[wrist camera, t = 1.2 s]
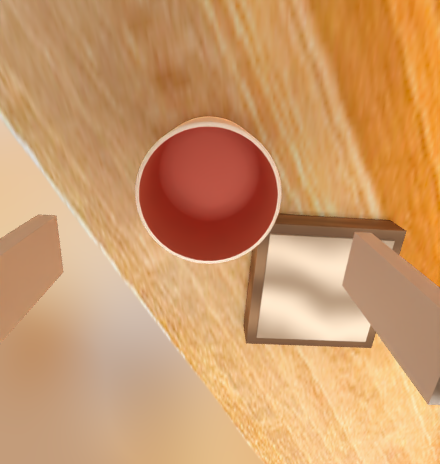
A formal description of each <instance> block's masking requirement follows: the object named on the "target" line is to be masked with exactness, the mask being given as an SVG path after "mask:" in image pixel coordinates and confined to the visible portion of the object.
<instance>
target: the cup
mask: <svg viewBox="0 0 440 464" xmlns="http://www.w3.org/2000/svg"><path fill="white" fill-rule="evenodd" d="M281 196H282V189H281V181H280V176H279V173H278V169H277V167H276V165H275V162H274V160H273V159H272V157H271V155H270V154H269V152H268V151H267V150H266V148H265V147H264V146H263V145H262V144H261V143H260V142H259V141H258V140H257V139H256V138H255V137H253V136H252V135H251V134H250V133H248V132H247V131H246V130H245V129H243V128H242V127H241V126H239V125H238V124H236V123H234V122H232V121H230V120H227V119H224V118H220V117H213V116H205V117H198V118H194V119H191V120H188V121H186V122H184V123H182V124H180V125H179V126H177V127H176V128H174V129H173V130H171V131H170V132H168V133H167V134H166V135H164V136H163V137H161V138H160V139H159V140H158V141H157V142H156V143H155V144H154V145H153V146H152V147H151V148H150V150H149V151H148V152H147V154H146V156H145V157H144V159H143V161H142V163H141V165H140V168H139V171H138V174H137V178H136V185H135V199H136V206H137V210H138V213H139V216H140V219H141V221H142V223H143V225H144V227H145V229H146V230H147V232H148V233H149V234H150V236H151V237H152V238H153V239H154V240H155V241H156V242H157V243H158V244H159V245H160V246H161V247H162V248H164V249H165V250H166V251H168V252H170V253H171V254H173V255H175V256H177V257H179V258H182V259H184V260H187V261H191V262H196V263H205V264H213V263H222V262H227V261H230V260H233V259H236V258H238V257H241V256H243V255H245V254H246V253H248V252H250V251H251V250H253V249H254V248H255V247H256V246H258V245H259V244H260V243H261V242H262V241H263V240H264V239H265V237H266V236H267V235H268V233H269V232H270V231H271V229H272V227H273V225H274V223H275V221H276V219H277V216H278V213H279V210H280V205H281Z"/></svg>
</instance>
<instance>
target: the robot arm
mask: <svg viewBox="0 0 440 464" xmlns="http://www.w3.org/2000/svg"><path fill="white" fill-rule="evenodd" d="M62 273H63V266H62V257H61V249H60V241H59V233H58V225H57V218H56V216H55V215H37V216H35V217H34V218H32V219H30V220H29V221H27V222H26V223H24V224H22V225H21V226H19V227H18V228H16V229H15V230H13V231H11V232H10V233H8V234H7V235H5V236H4V237H2V238H0V343H1V342H2V341H3V340H4V339H5V338H6V336H7V335H8V334H9V333H10V332H11V331H12V329H14V327H15V326H16V325H17V324H18V323H19V321H21V320H22V318H23V317H24V316H25V315H26V314H27V313H28V312H29V310H30V309H31V308H32V307H33V306H34V305H35V304H36V302H37V301H38V300H39V299H40V298H41V297H42V296H43V295H44V294H45V292H46V291H47V290H48V289H49V288H50V287H51V285H52V284H53V283H54V282H55V281H56V280H57V279H58V278H59V276H60V275H61V274H62ZM342 286H343V287H344V289H345V290H346V291H347V293H348V294H349V296H350V297H351V298H352V300H353V301H354V302H355V304H356V305H357V307H358V308H359V309H360V311H361V312H362V314H363V315H364V316H365V318H366V319H367V320H368V322H369V323H370V325H371V326H372V327H373V329H374V330H375V332H376V333H377V334H378V336H379V337H380V338H381V340H382V341H383V343H384V344H385V345H386V347H387V348H388V350H389V351H390V352H391V354H392V355H393V356H394V358H395V359H396V361H397V362H398V363H399V365H400V366H401V368H402V369H403V370H404V372H405V373H406V374H407V376H408V377H409V379H410V380H411V381H412V383H413V384H414V386H415V387H416V388H417V390H418V391H419V392H420V394H421V395H422V397H423V398H424V399H425V401H426V402H427V404H428V405H440V287H438V286H437V285H436V284H434V283H433V282H432V281H431V280H429V279H428V278H427V277H426V276H424V275H423V274H422V273H421V272H419V271H418V270H417V269H416V268H414V267H413V266H412V265H411V264H409V263H408V262H407V261H406V260H404V259H403V258H402V257H401V256H399V255H398V254H397V253H396V252H394V251H393V250H392V249H391V248H390V247H388V246H387V245H386V244H385V243H383V242H382V241H381V240H380V239H378V238H377V237H376V236H375V235H373V234H372V233H365V232H354V237H353V241H352V245H351V249H350V254H349V258H348V262H347V266H346V271H345V275H344V279H343V283H342Z"/></svg>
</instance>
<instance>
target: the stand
mask: <svg viewBox="0 0 440 464" xmlns="http://www.w3.org/2000/svg"><path fill="white" fill-rule="evenodd" d="M354 232H365V233H372V234H373V235H375V236H376V237H377V238H378V239H380V240H381V241H382V242H383V243H385V244H386V245H387V246H388V247H390V248H391V249H392V250H393V251H394V252H396V253H397V254H398V255H399V254H400V251H401V247H402V244H403V241H404V237H405V234H406V230H404V229H402V228H401V227H399V226H398V225H396V224H395V223H393V222H392V221H390V220H374V219H356V218H338V217H320V216H303V215H285V214H278V216H277V219H276V221H275V223H274V225H273V227H272V229H271V231H270V232H269V233H268V235H267V236H266V237H265V239H264V240H263V241H262V242H261V243H260V244H259V245H258V246H256V247H255V248H254V249H253V250H252V257H251V266H250V274H249V283H248V292H247V301H246V309H245V318H244V332H245V339H246V343H252V344H279V345H306V346H333V347H360V348H371V347H372V344H373V340H374V337H375V334H376V332H375V330H374V329H373V327H372V326H371V325H370V323H369V322H368V320H367V319H366V318H365V316H364V315H363V314H362V312H361V311H360V309H359V308H358V307H357V305H356V304H355V302H354V301H353V300H352V298H351V297H350V296H349V294H348V293H347V291H346V290H345V289H344V287H343V286H342V283H343V279H344V275H345V271H346V266H347V262H348V258H349V254H350V249H351V245H352V241H353V237H354Z"/></svg>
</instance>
